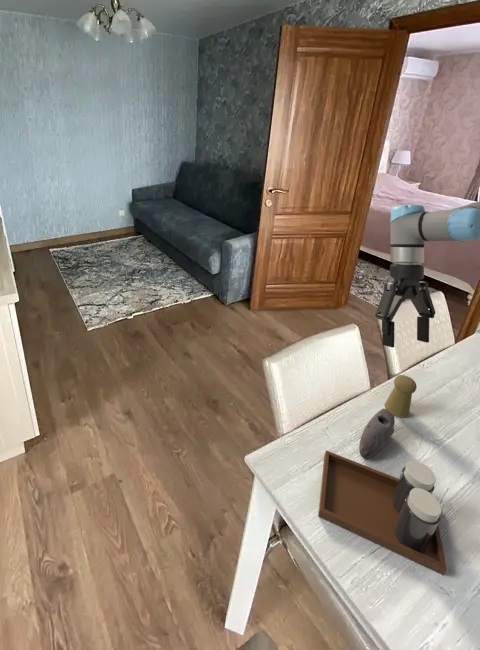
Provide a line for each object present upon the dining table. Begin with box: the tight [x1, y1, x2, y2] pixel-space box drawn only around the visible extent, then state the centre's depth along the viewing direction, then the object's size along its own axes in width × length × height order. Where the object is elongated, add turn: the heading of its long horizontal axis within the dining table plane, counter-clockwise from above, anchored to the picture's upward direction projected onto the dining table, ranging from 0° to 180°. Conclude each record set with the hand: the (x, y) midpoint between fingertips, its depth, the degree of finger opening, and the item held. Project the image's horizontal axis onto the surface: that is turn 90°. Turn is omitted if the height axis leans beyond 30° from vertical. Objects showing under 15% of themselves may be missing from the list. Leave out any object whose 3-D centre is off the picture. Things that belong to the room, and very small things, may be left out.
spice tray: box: [317, 450, 447, 576], centre depth 73 cm, size 22×15×3 cm
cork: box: [384, 374, 418, 419], centre depth 96 cm, size 6×6×11 cm
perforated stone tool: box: [358, 407, 396, 459], centre depth 87 cm, size 15×5×7 cm, turn 128°
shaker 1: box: [392, 460, 437, 513], centre depth 72 cm, size 6×6×11 cm
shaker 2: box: [394, 488, 443, 553], centre depth 67 cm, size 6×6×11 cm
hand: (406, 343), depth 91 cm, fingers open, 13 cm apart
